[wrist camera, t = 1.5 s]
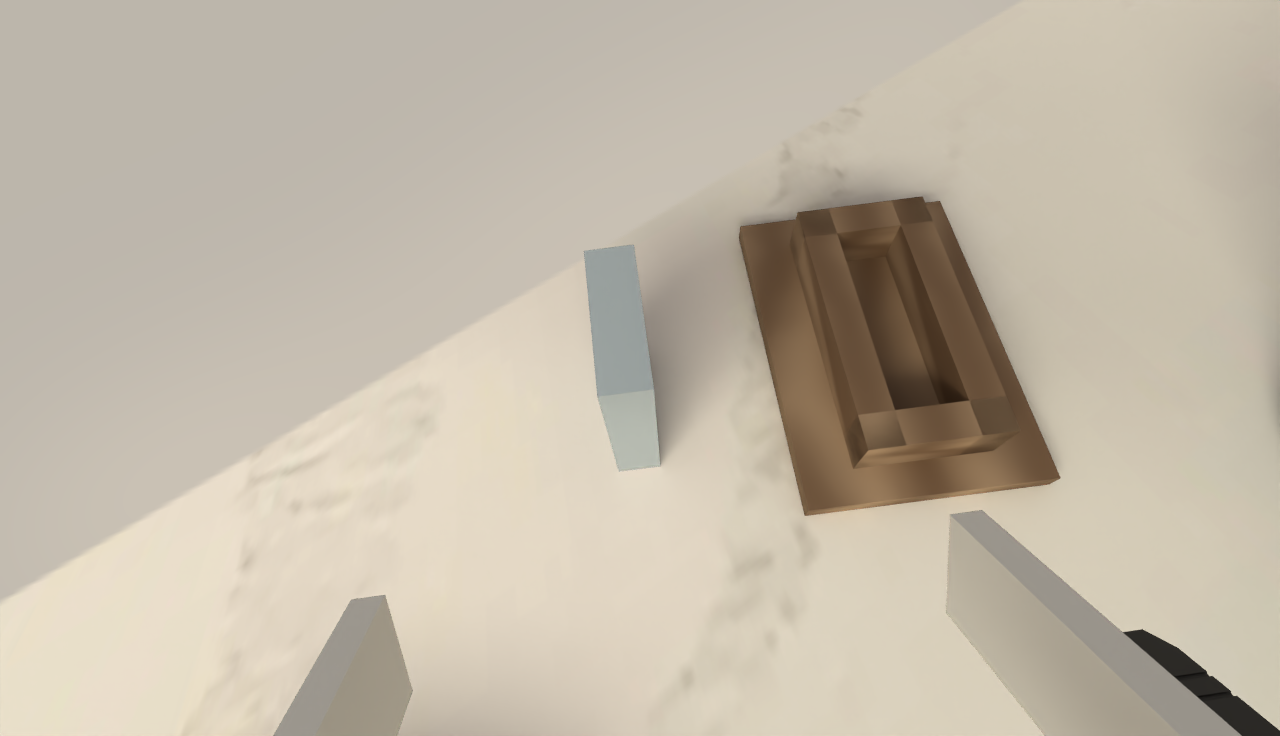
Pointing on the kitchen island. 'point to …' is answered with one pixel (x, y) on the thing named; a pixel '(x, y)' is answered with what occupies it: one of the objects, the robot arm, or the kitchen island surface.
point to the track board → (887, 360)
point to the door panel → (622, 356)
